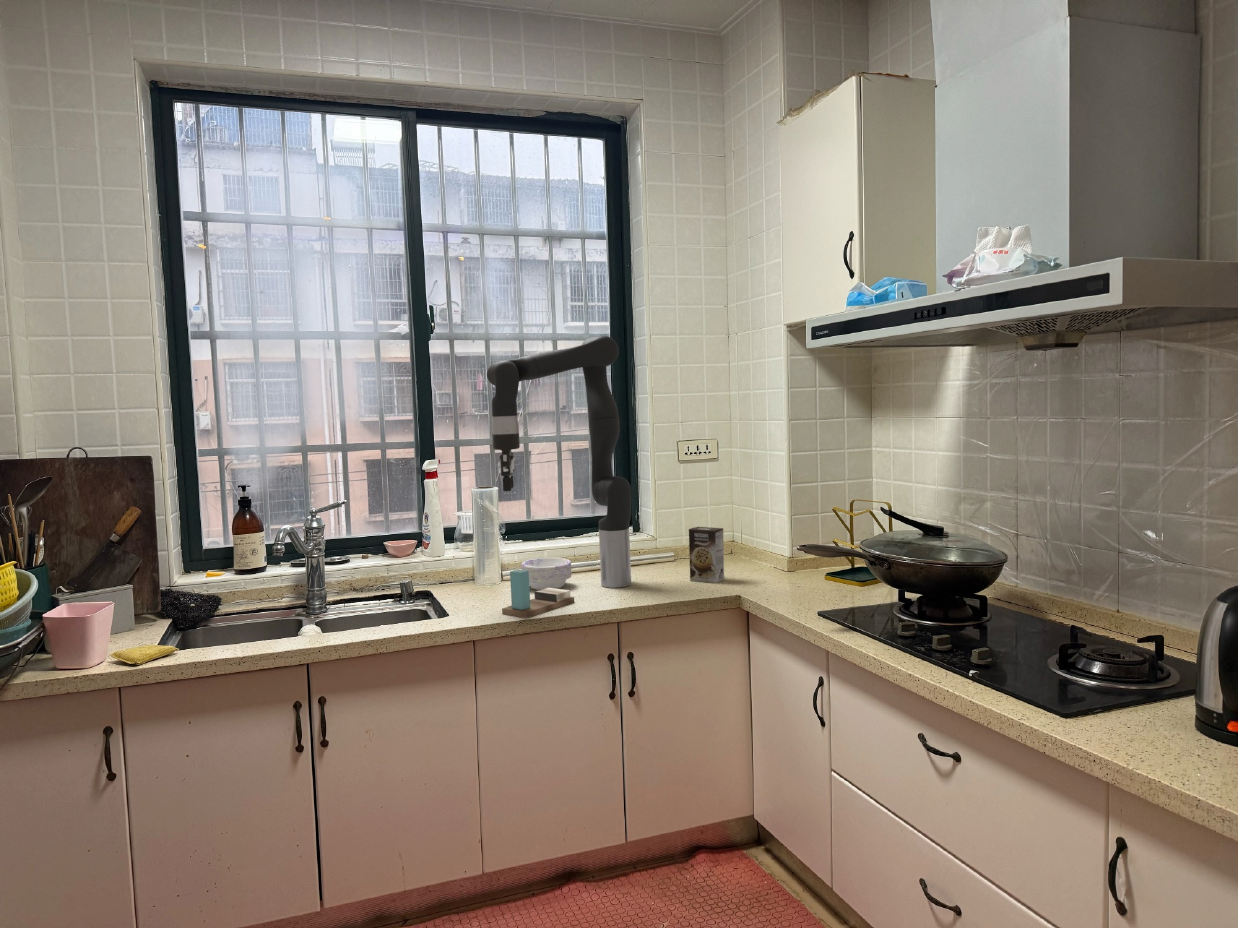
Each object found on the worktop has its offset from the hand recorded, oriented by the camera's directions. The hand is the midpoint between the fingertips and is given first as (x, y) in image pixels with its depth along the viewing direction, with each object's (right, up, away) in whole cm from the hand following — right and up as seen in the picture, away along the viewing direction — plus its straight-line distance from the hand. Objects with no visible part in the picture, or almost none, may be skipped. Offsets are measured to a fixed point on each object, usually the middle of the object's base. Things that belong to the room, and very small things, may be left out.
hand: (508, 489), depth 242 cm
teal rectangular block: (+5, -31, -13) cm, 34 cm away
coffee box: (+58, -29, +20) cm, 68 cm away
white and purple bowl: (+9, -31, +20) cm, 38 cm away
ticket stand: (+10, -32, -6) cm, 34 cm away
